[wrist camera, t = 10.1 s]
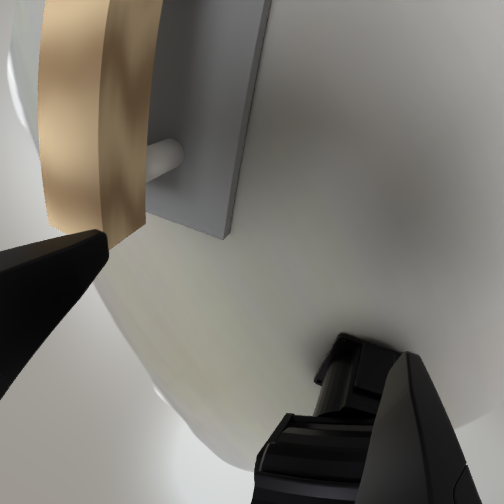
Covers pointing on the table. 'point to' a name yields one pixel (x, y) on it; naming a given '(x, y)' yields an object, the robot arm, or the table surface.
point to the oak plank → (96, 112)
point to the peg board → (201, 108)
